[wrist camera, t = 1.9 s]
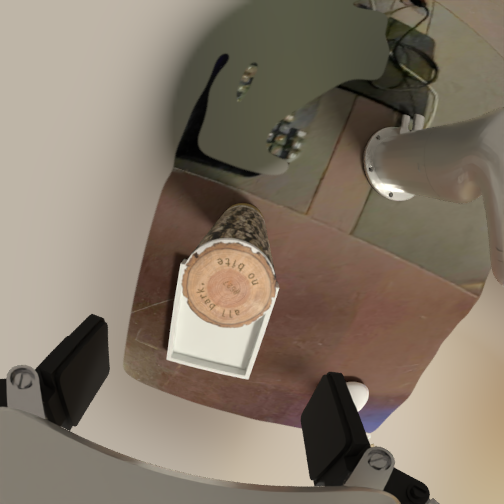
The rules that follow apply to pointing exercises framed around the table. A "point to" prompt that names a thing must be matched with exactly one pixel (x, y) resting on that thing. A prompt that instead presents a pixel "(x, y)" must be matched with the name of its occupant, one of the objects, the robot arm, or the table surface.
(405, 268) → the table surface
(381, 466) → the robot arm
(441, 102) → the table surface
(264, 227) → the paper tube
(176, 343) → the tray
